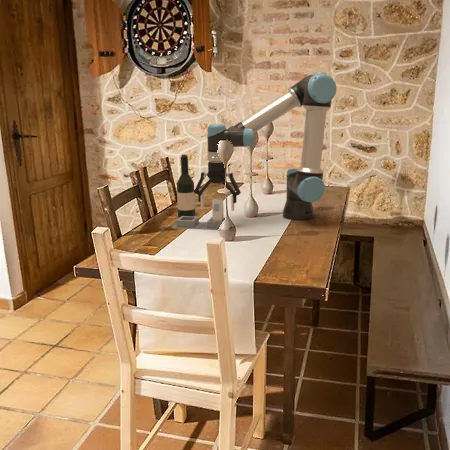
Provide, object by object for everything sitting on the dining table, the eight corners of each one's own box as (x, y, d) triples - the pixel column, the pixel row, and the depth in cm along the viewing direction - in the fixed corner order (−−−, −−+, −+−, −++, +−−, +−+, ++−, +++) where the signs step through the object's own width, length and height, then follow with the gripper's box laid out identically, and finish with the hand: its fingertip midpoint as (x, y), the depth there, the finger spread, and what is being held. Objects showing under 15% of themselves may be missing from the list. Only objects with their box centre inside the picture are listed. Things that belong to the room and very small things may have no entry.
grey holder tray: (234, 225, 223) (234, 216, 222) (228, 232, 212) (228, 223, 211) (179, 223, 228) (178, 214, 227) (170, 230, 217) (170, 221, 216)
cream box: (223, 225, 220) (223, 198, 217) (221, 228, 215) (220, 201, 212) (215, 224, 221) (214, 198, 217) (212, 227, 216) (211, 200, 213)
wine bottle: (198, 216, 240) (196, 154, 232) (186, 220, 234) (183, 156, 226) (187, 214, 245) (184, 153, 238) (174, 217, 240) (171, 155, 232)
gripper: (186, 162, 210) (187, 210, 215) (244, 163, 205) (244, 213, 210) (191, 159, 217) (192, 206, 222) (247, 160, 212) (247, 209, 217)
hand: (217, 210), depth 216 cm, fingers open, 13 cm apart
